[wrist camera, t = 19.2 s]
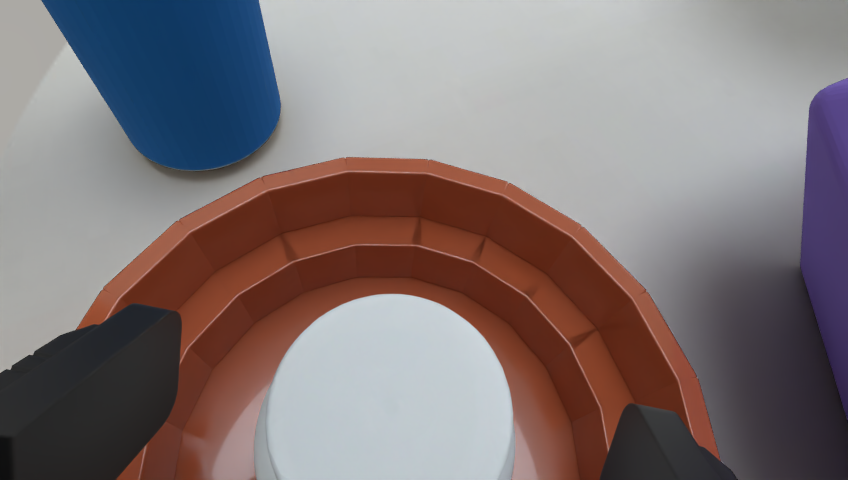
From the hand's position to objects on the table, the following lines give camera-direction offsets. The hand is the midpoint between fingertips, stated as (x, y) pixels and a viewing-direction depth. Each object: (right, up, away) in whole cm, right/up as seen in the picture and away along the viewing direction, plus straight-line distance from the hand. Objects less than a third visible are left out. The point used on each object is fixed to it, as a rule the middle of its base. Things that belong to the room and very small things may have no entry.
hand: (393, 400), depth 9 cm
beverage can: (-9, +8, +14) cm, 19 cm away
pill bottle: (-1, -4, +8) cm, 9 cm away
